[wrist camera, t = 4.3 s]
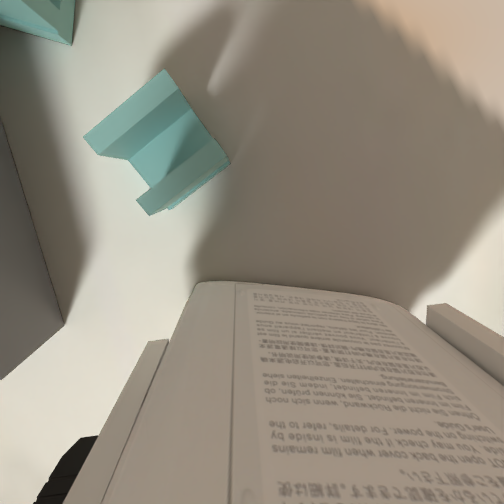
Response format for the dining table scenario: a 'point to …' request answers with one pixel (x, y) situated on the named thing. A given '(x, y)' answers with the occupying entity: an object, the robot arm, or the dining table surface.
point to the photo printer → (311, 407)
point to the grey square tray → (21, 274)
